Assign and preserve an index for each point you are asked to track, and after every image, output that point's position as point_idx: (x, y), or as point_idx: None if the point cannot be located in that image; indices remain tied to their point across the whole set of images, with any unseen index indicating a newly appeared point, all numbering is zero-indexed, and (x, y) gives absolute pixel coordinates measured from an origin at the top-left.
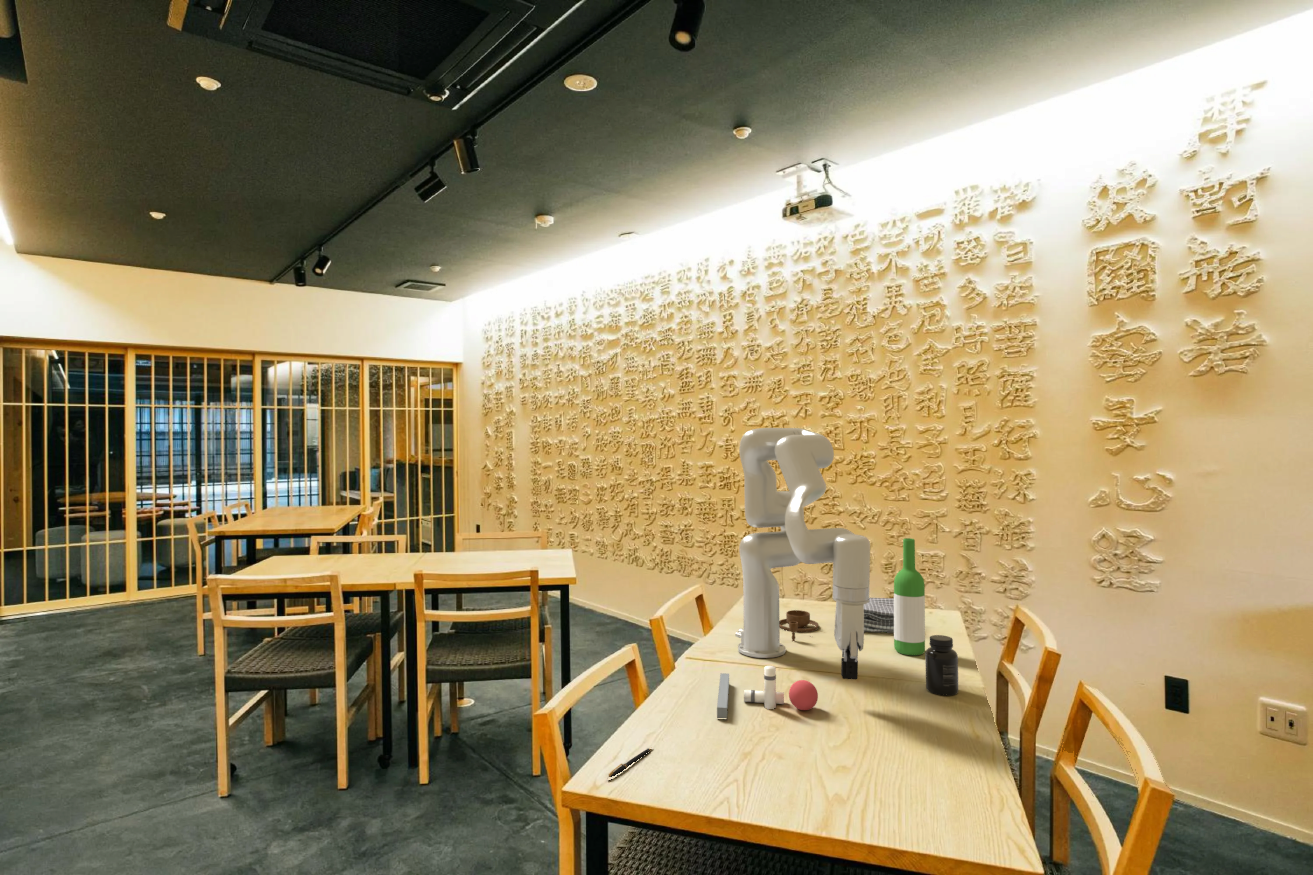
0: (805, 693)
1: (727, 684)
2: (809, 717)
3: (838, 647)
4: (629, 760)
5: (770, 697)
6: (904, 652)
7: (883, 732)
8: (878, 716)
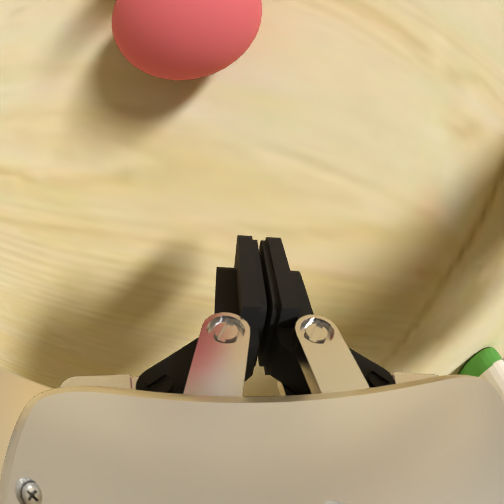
0: (113, 17)
1: None
2: (113, 47)
3: (112, 393)
4: None
5: None
6: (473, 360)
7: (51, 264)
8: (151, 276)
